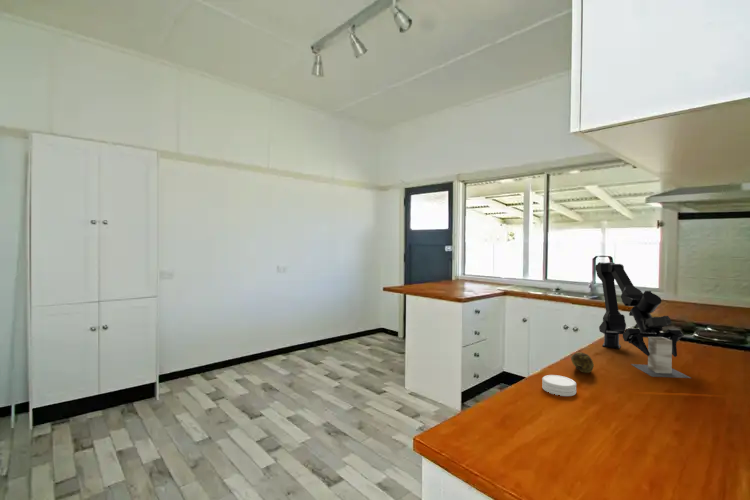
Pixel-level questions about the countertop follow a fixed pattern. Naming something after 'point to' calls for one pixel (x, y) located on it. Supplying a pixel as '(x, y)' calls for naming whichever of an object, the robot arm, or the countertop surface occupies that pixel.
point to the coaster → (559, 385)
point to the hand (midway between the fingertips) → (662, 355)
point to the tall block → (660, 354)
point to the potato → (582, 362)
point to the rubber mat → (674, 373)
